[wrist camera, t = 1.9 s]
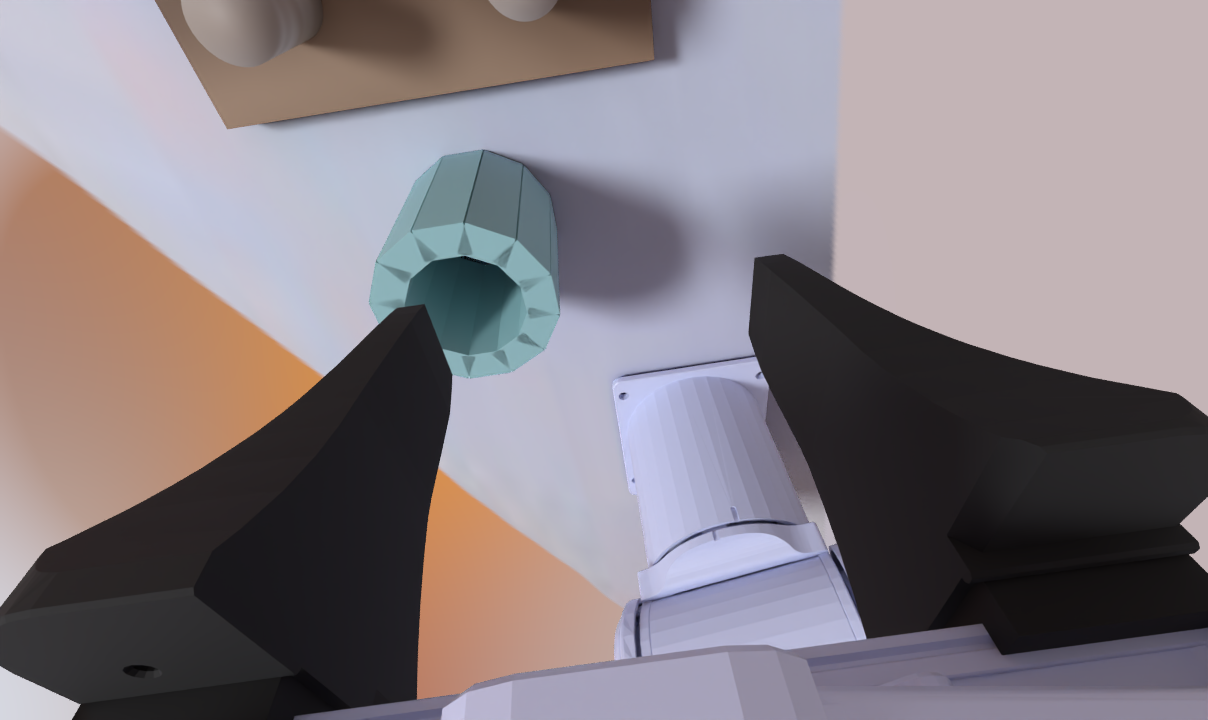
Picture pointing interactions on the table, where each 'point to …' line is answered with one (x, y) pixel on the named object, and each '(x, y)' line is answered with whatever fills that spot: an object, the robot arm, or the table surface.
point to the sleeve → (465, 288)
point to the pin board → (391, 48)
